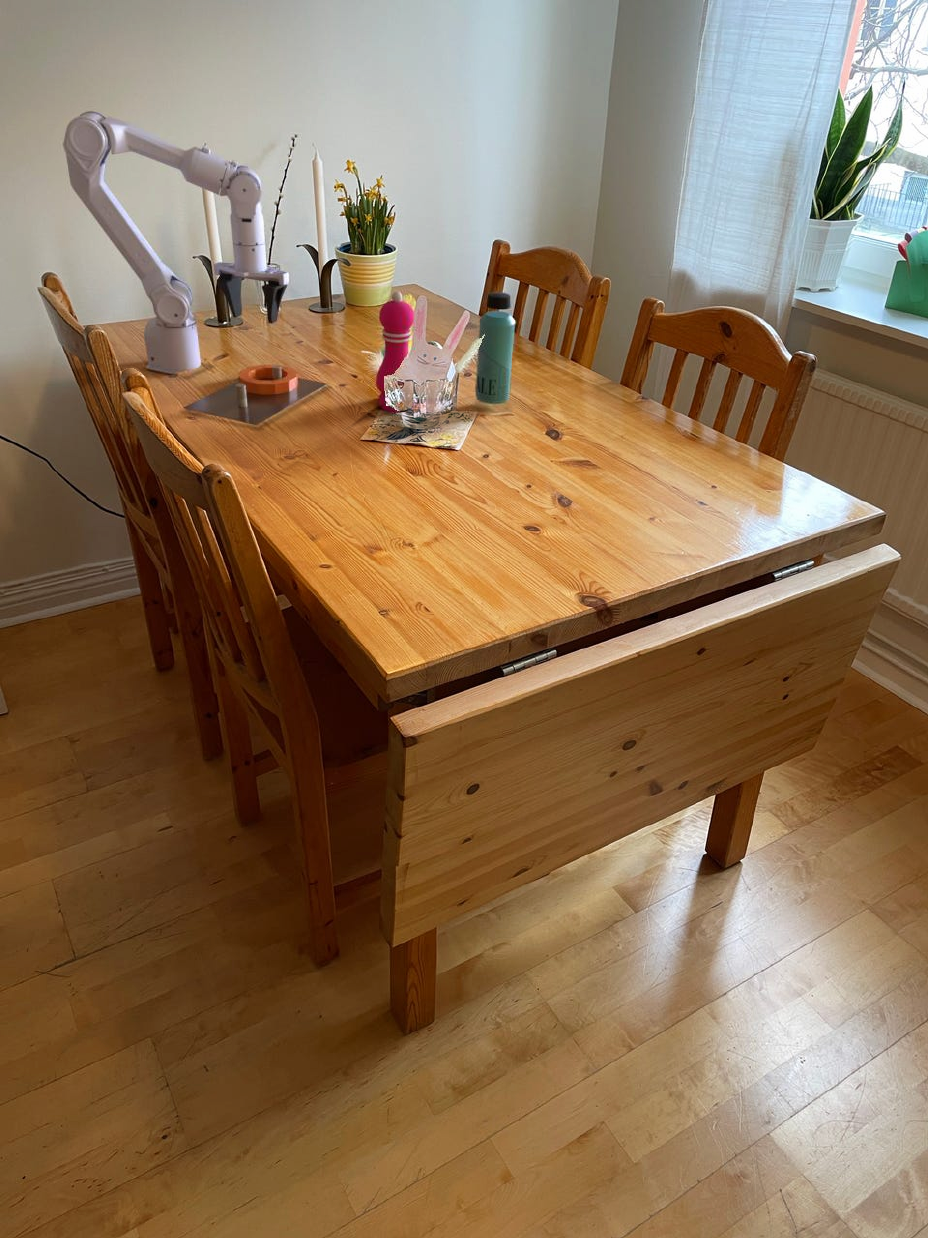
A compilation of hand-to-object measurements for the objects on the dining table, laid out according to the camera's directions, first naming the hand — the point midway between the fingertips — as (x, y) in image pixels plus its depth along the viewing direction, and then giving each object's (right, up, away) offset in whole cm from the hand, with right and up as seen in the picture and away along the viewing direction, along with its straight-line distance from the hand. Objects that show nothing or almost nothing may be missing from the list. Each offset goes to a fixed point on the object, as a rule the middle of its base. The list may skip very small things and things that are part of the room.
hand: (255, 318), depth 168 cm
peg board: (+3, -17, -8) cm, 19 cm away
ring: (+4, -13, -4) cm, 15 cm away
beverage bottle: (+45, -18, -5) cm, 48 cm away
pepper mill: (+27, -18, -7) cm, 34 cm away
